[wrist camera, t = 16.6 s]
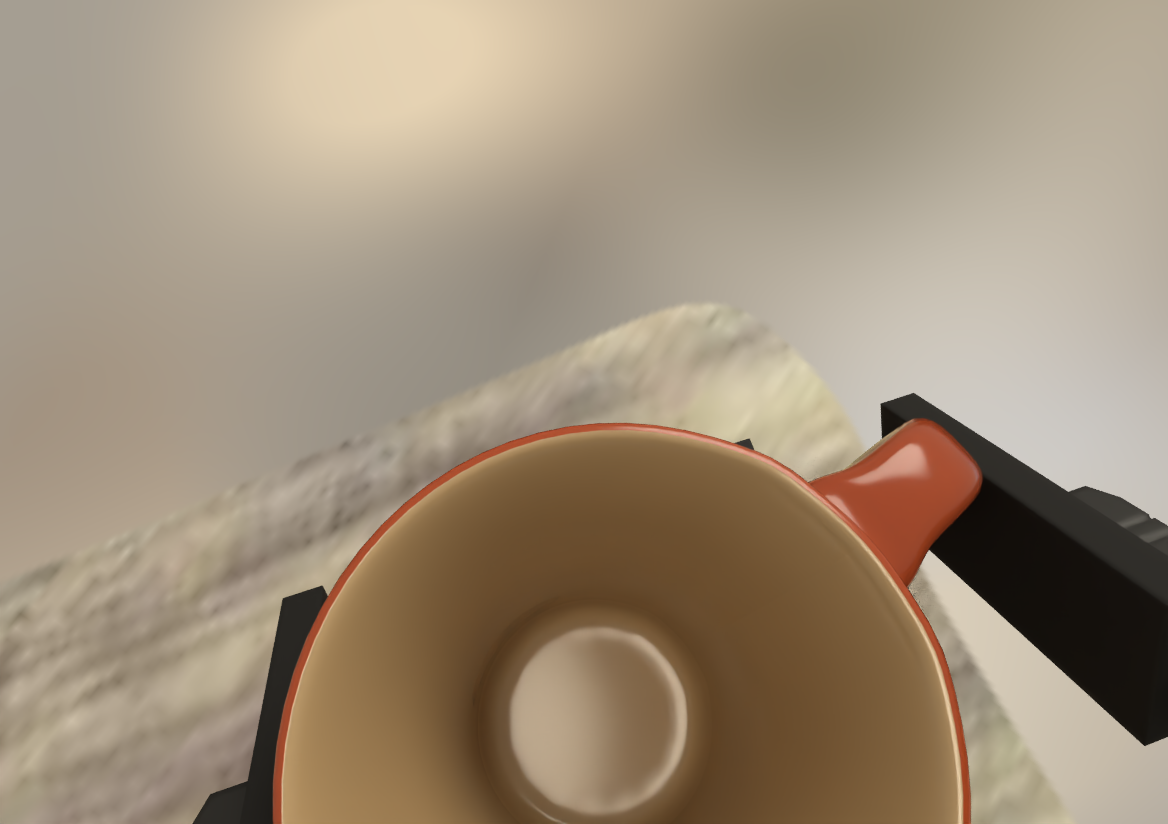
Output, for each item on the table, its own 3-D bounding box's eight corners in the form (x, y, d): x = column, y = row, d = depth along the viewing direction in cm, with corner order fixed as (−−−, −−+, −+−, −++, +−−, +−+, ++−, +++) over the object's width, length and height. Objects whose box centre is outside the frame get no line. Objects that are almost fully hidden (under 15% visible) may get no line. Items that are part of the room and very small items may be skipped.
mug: (560, 1007, 17) (561, 1438, 7) (350, 682, 19) (138, 688, 10) (923, 662, 20) (1272, 646, 10) (704, 412, 22) (819, 202, 12)
